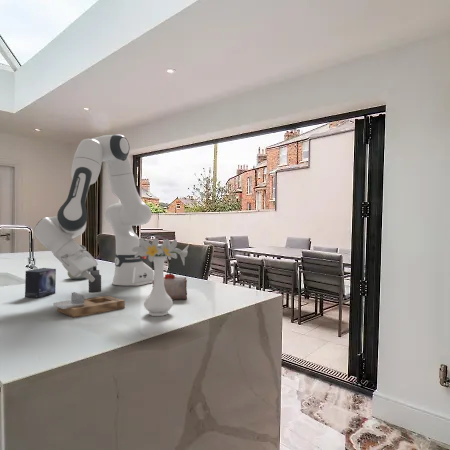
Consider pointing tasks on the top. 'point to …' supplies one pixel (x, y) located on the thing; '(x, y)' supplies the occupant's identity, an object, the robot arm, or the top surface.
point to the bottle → (96, 284)
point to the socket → (94, 306)
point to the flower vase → (159, 272)
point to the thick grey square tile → (71, 301)
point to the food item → (175, 286)
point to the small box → (40, 282)
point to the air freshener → (76, 277)
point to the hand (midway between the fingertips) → (96, 279)
